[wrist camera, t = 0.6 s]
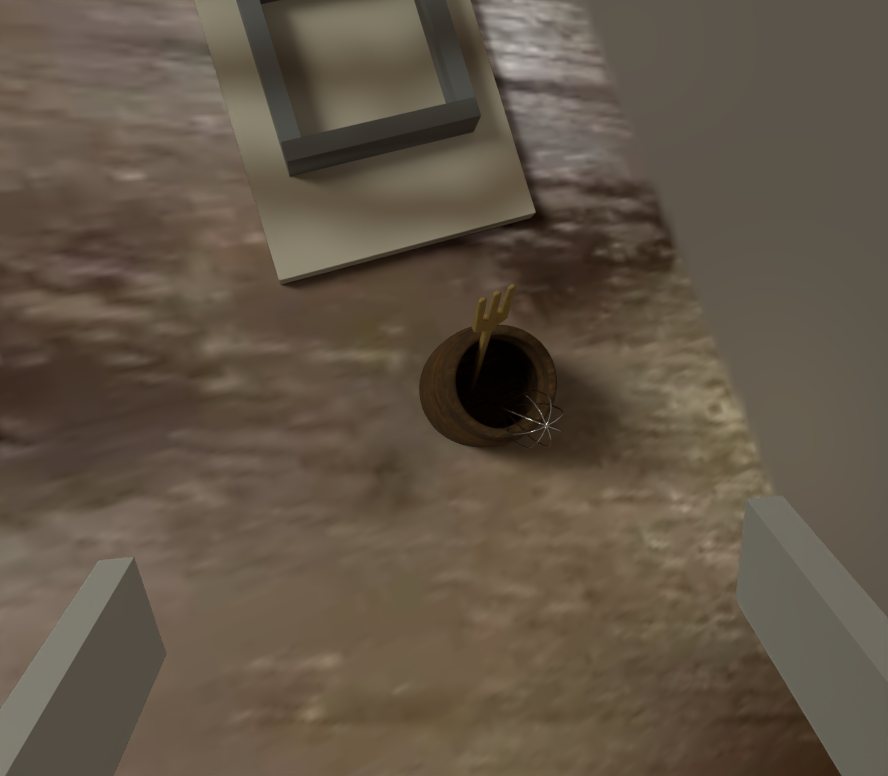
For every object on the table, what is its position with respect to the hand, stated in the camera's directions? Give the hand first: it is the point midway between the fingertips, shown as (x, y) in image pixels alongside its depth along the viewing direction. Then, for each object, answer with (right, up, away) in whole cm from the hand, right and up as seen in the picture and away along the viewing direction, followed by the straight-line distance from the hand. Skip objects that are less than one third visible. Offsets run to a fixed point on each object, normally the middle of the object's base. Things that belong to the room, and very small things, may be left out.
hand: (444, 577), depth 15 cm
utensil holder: (+1, +4, +22) cm, 23 cm away
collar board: (-5, +21, +22) cm, 31 cm away
